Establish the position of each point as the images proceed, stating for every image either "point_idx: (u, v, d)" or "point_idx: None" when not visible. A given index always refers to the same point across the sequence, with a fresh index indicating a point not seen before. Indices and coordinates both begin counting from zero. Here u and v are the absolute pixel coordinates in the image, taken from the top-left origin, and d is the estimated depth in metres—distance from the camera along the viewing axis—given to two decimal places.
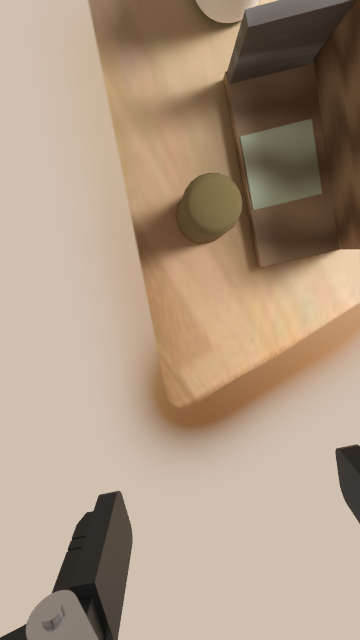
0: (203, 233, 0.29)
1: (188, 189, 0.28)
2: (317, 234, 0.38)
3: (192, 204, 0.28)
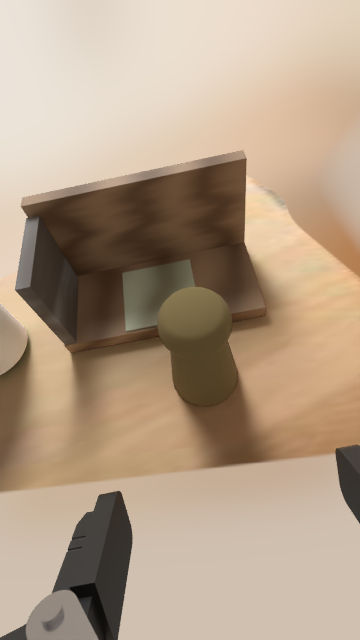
0: (228, 327, 0.23)
1: (173, 341, 0.22)
2: (229, 260, 0.36)
3: (191, 334, 0.22)
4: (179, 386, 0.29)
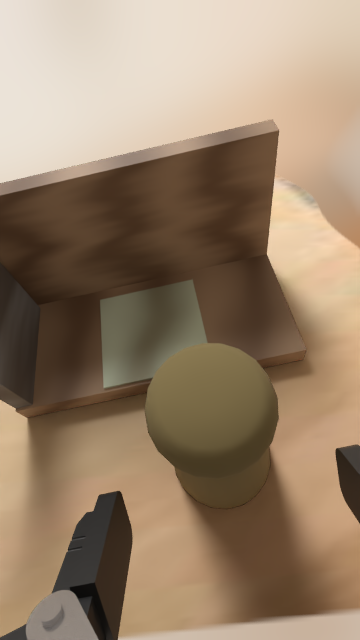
0: (274, 423, 0.12)
1: (174, 455, 0.12)
2: (247, 280, 0.26)
3: (208, 444, 0.11)
4: (184, 482, 0.19)
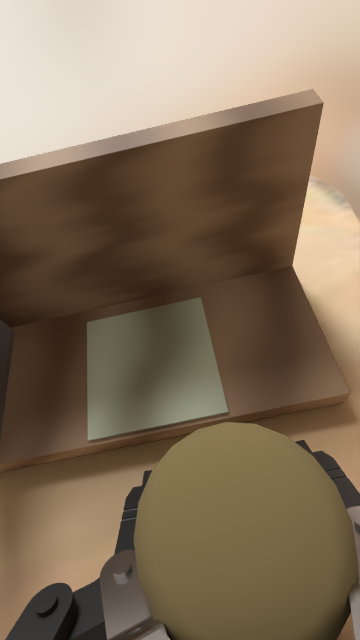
0: (355, 581, 0.07)
1: None
2: (269, 298, 0.21)
3: None
4: None
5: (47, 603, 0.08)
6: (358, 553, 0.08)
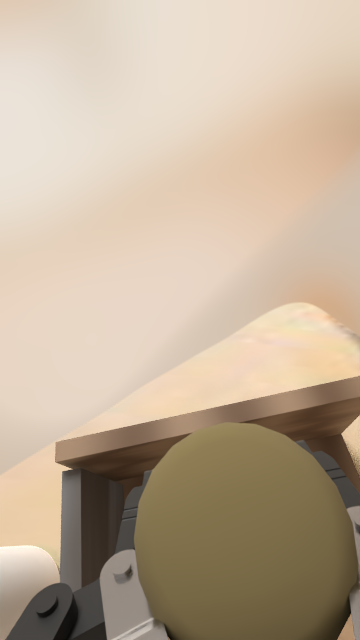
0: None
1: None
2: None
3: None
4: None
5: (46, 603, 0.08)
6: (358, 553, 0.08)
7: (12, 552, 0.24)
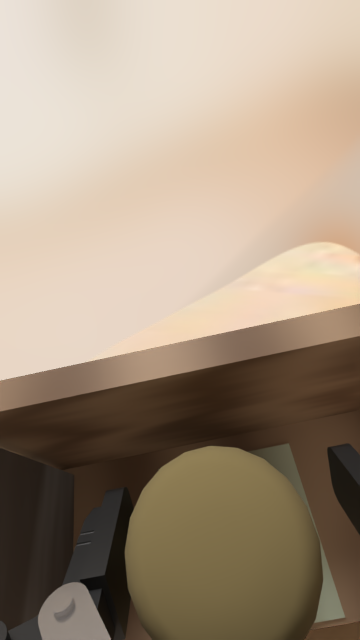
0: (319, 594, 0.08)
1: None
2: None
3: None
4: None
5: None
6: None
7: None
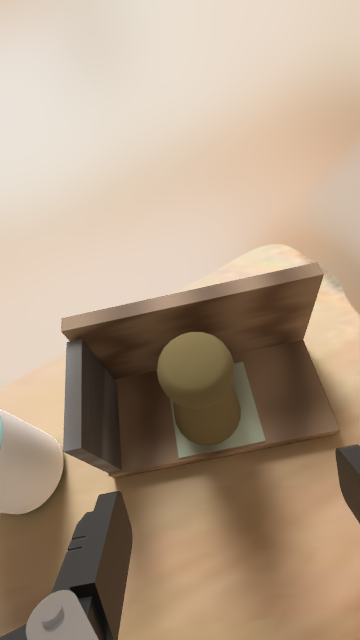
0: (230, 376, 0.22)
1: (173, 392, 0.21)
2: (288, 363, 0.32)
3: (192, 385, 0.21)
4: (181, 426, 0.28)
5: None
6: None
7: (23, 421, 0.29)
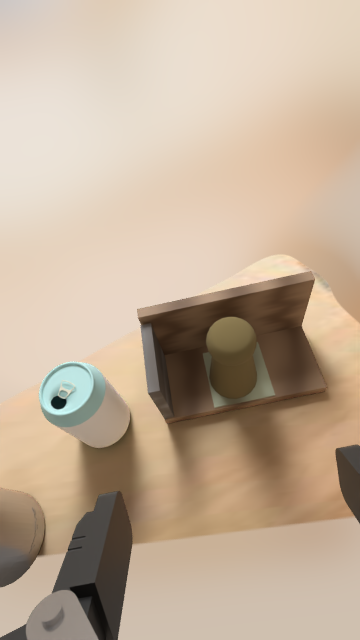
0: (254, 344, 0.34)
1: (219, 354, 0.34)
2: (290, 342, 0.45)
3: (231, 349, 0.33)
4: (216, 384, 0.41)
5: None
6: None
7: None
